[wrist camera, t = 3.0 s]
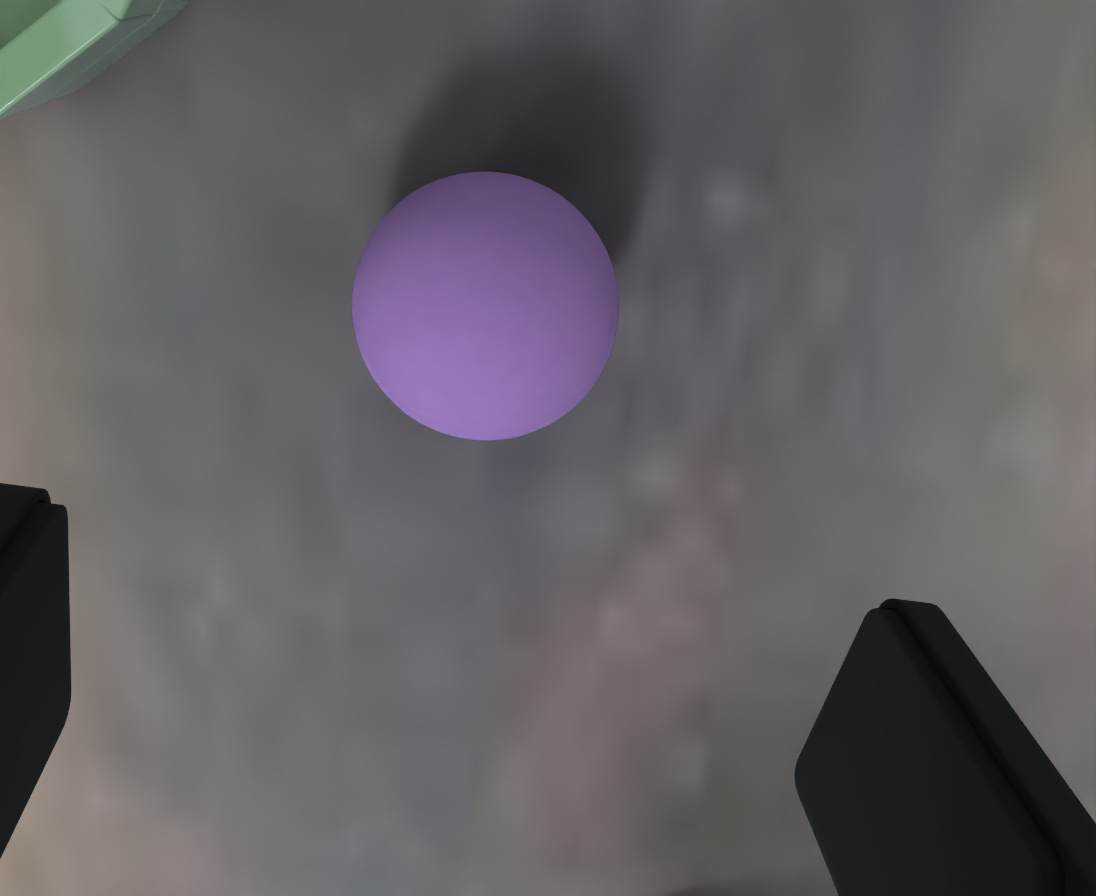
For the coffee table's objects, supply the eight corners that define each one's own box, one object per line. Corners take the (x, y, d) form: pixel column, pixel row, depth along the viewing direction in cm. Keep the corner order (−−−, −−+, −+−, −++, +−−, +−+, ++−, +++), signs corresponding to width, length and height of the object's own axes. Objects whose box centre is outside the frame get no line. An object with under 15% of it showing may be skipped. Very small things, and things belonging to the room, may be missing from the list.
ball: (625, 176, 23) (675, 242, 18) (570, 394, 26) (599, 507, 21) (381, 123, 22) (359, 177, 17) (349, 356, 25) (320, 466, 20)
